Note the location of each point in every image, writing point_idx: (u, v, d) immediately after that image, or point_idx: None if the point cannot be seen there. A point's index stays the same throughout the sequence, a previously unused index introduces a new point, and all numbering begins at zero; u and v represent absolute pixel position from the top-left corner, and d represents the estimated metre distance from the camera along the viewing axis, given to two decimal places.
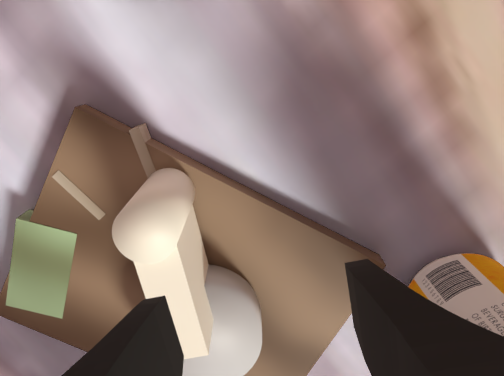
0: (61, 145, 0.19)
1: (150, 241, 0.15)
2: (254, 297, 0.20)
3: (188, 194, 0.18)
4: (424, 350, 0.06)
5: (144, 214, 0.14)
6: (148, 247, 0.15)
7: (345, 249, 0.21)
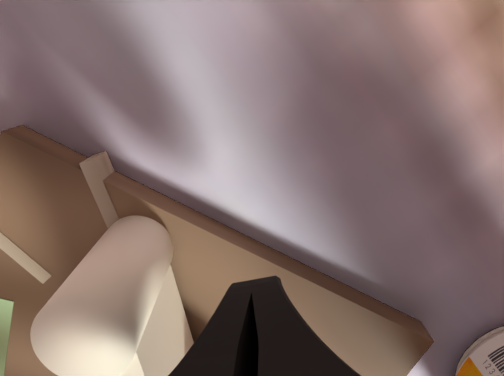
0: None
1: (92, 352, 0.09)
2: None
3: (161, 258, 0.12)
4: None
5: (81, 312, 0.09)
6: (90, 360, 0.09)
7: (379, 321, 0.15)
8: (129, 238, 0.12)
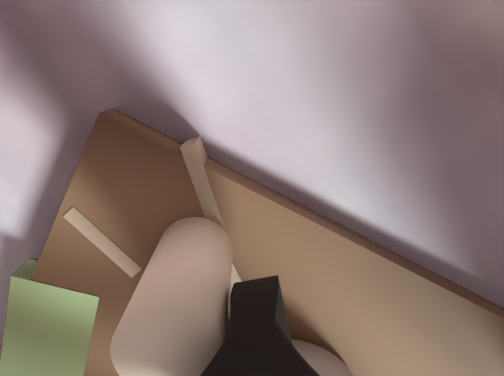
0: (78, 170, 0.13)
1: (179, 363, 0.09)
2: (347, 375, 0.14)
3: (224, 255, 0.11)
4: None
5: (159, 323, 0.08)
6: (177, 373, 0.09)
7: (485, 316, 0.14)
8: (187, 240, 0.11)
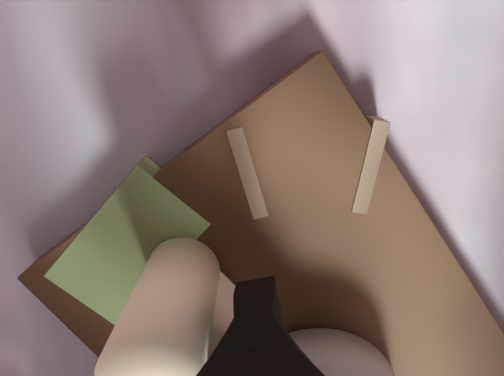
0: (268, 94, 0.12)
1: None
2: (368, 350, 0.14)
3: (201, 268, 0.12)
4: None
5: (130, 353, 0.09)
6: None
7: None
8: (160, 264, 0.11)
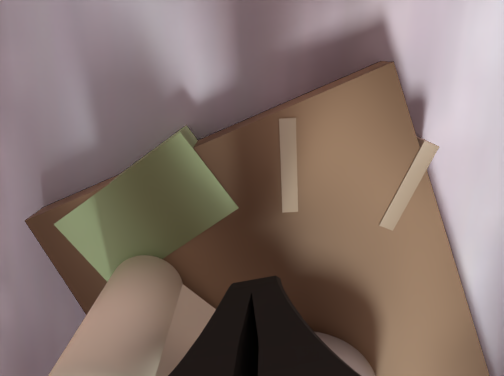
0: (330, 92, 0.12)
1: None
2: (340, 349, 0.14)
3: (154, 286, 0.12)
4: None
5: None
6: None
7: None
8: (113, 286, 0.11)
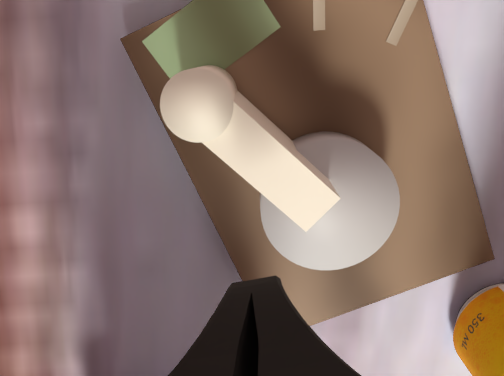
0: None
1: (206, 110, 0.13)
2: (356, 140, 0.18)
3: (222, 71, 0.16)
4: None
5: (182, 85, 0.13)
6: (208, 117, 0.13)
7: (478, 222, 0.20)
8: None
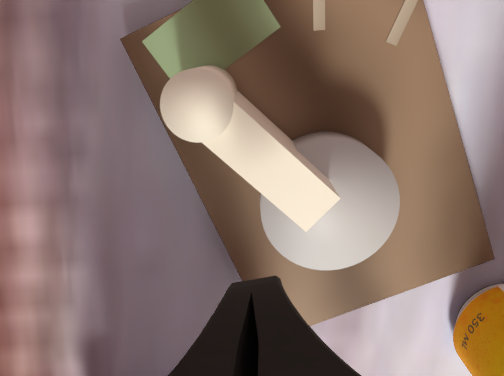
0: None
1: (206, 110, 0.13)
2: (356, 140, 0.18)
3: (222, 71, 0.16)
4: None
5: (182, 85, 0.13)
6: (208, 117, 0.13)
7: (478, 222, 0.20)
8: None
